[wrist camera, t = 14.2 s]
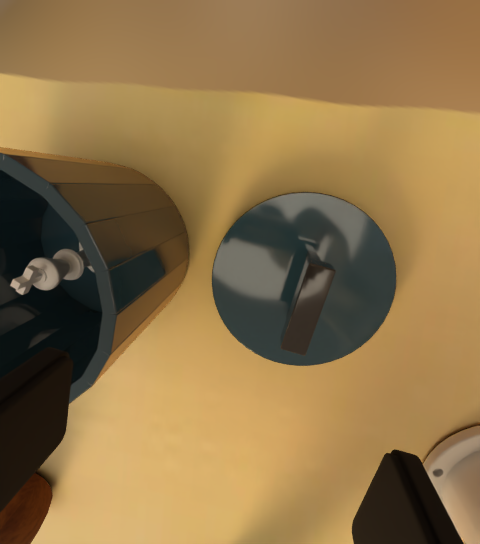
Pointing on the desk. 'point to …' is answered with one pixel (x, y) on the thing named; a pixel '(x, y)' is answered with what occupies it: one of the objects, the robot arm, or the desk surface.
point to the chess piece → (52, 270)
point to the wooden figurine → (25, 512)
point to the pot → (99, 250)
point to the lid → (304, 278)
